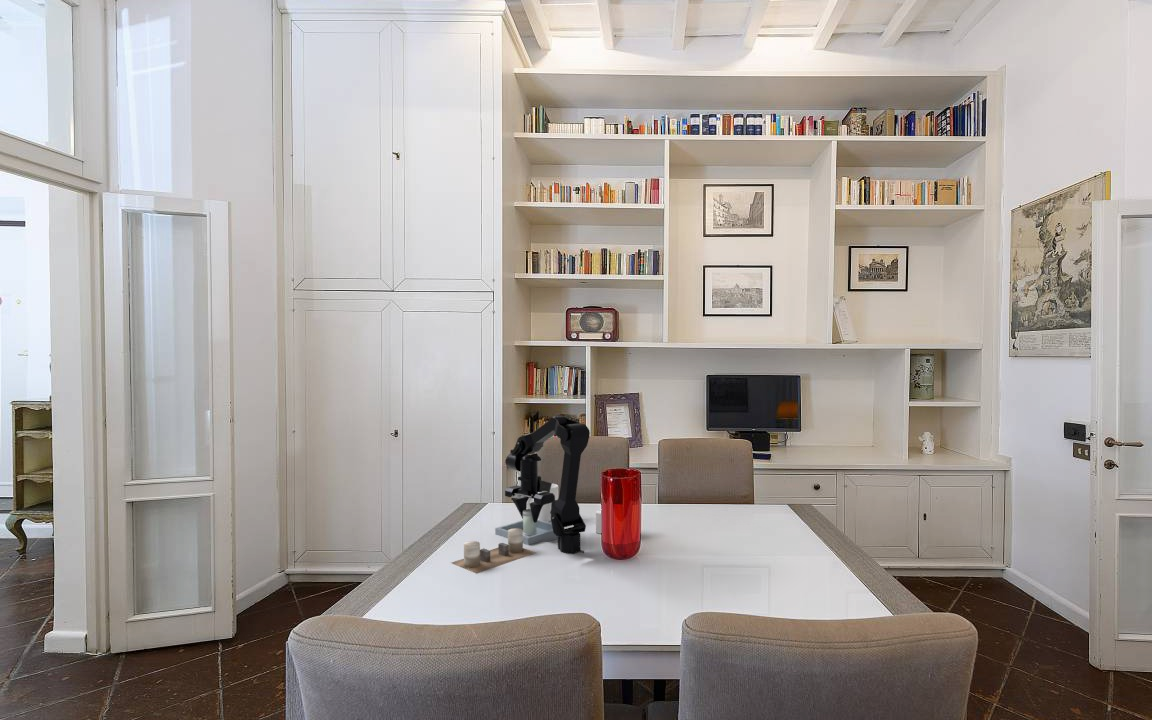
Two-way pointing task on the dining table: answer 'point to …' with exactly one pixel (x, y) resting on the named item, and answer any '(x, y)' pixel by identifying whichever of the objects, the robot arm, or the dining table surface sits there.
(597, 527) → the medicine bottle
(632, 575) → the dining table surface
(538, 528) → the tray
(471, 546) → the fuse rack
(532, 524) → the cylinder
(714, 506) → the dining table surface
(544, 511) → the mug
